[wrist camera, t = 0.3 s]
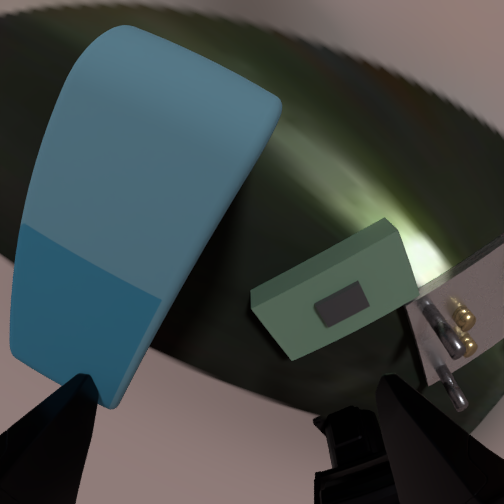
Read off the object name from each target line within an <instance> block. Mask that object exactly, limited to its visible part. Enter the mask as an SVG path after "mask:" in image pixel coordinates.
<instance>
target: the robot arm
mask: <svg viewBox="0 0 504 504" xmlns="http://www.w3.org/2000/svg"><path fill="white" fill-rule="evenodd" d="M98 399H99V393H98V389H97V387H96V385H95V383H94V381H93V379H92V377H91V376H90V375H89V374H84V373H78V374H77V375H75V376H74V377H73V378H71V379H70V380H69V381H68V382H66V383H65V384H64V385H63V386H61V387H60V388H59V389H57V390H56V391H55V392H54V393H53V394H51V395H50V396H49V397H47V398H46V399H45V400H44V401H42V402H41V403H40V404H39V405H37V406H36V407H35V408H34V409H32V410H31V411H30V412H28V413H27V414H26V415H25V416H23V417H22V418H21V419H20V420H19V421H17V422H16V423H15V424H13V425H12V426H11V427H10V428H8V430H7V431H5V432H3V433H2V434H1V435H0V504H75V503H76V498H77V494H78V489H79V485H80V481H81V477H82V472H83V469H84V465H85V460H86V457H87V453H88V449H89V446H90V442H91V438H92V433H93V427H94V421H95V416H96V409H97V404H98ZM376 403H377V408H378V414H379V419H380V425H381V430H380V427H379V424H378V421H377V418H376V415H375V413H374V412H372V411H370V410H360V409H359V408H358V407H354V406H349V407H347V408H344V409H342V410H340V411H337V412H335V413H332V414H330V415H328V419H324V418H321V417H319V416H318V417H315V418H314V419H313V424H314V425H315V426H316V427H317V428H318V429H319V430H320V431H321V432H322V433H323V434H324V435H325V436H326V438H327V443H328V447H329V453H330V458H331V464H332V469H329V470H326V471H322V472H321V471H320V472H316V473H315V480H314V504H504V459H502V458H501V457H499V456H498V455H496V454H495V453H493V452H492V451H490V450H489V449H488V448H486V447H485V446H484V445H482V444H481V443H480V442H479V441H477V440H476V439H475V438H473V437H472V436H471V435H469V433H467V432H466V431H465V430H464V429H463V428H461V427H460V426H459V425H458V424H457V423H455V422H454V421H453V420H452V419H450V418H449V417H448V416H447V415H446V414H444V413H443V412H442V411H441V410H440V409H438V408H437V407H436V406H435V405H433V404H432V403H431V402H430V401H429V400H427V399H426V398H425V397H424V396H423V395H421V394H420V393H419V392H418V391H416V390H415V389H414V388H413V387H412V386H410V385H409V384H408V383H407V382H406V381H404V380H403V379H402V378H401V377H400V376H398V375H397V374H395V373H389V374H384V375H382V377H381V379H380V382H379V384H378V387H377V390H376ZM381 432H382V433H381Z"/></svg>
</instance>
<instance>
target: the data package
mask: <svg viewBox="0 0 504 504" xmlns="http://www.w3.org/2000/svg"><path fill="white" fill-rule="evenodd" d="M281 112H282V103H281V101H280V99H279V98H278V97H276V96H275V95H273V94H271V93H270V92H268V91H266V90H265V89H263V88H261V87H259V86H258V85H256V84H254V83H252V82H251V81H249V80H247V79H245V78H243V77H242V76H240V75H238V74H236V73H234V72H232V71H230V70H228V69H227V68H225V67H223V66H221V65H219V64H217V63H215V62H213V61H211V60H209V59H207V58H205V57H203V56H201V55H199V54H196V53H194V52H192V51H190V50H188V49H186V48H184V47H181V46H179V45H177V44H175V43H172V42H170V41H168V40H165V39H163V38H161V37H158V36H156V35H154V34H151V33H149V32H146V31H144V30H141V29H138V28H136V27H133V26H128V25H123V26H118V27H115V28H112V29H110V30H108V31H107V32H105V33H103V34H102V35H101V36H99V37H98V38H97V39H96V40H94V41H93V42H92V43H91V44H90V45H89V46H88V47H87V49H86V50H85V51H84V52H83V53H82V55H81V56H80V57H79V59H78V60H77V61H76V63H75V64H74V66H73V68H72V70H71V71H70V73H69V75H68V77H67V79H66V81H65V83H64V86H63V88H62V90H61V93H60V95H59V98H58V100H57V102H56V105H55V107H54V110H53V113H52V115H51V118H50V121H49V123H48V126H47V129H46V132H45V135H44V138H43V141H42V144H41V147H40V150H39V153H38V157H37V160H36V163H35V167H34V170H33V174H32V178H31V181H30V185H29V189H28V193H27V198H26V202H25V207H24V211H23V216H22V221H21V226H20V232H19V238H18V244H17V250H16V257H15V265H14V274H13V284H12V295H11V310H10V349H11V352H12V354H13V356H14V357H15V358H16V359H18V360H20V361H21V362H23V363H24V364H26V365H27V366H29V367H31V368H32V369H34V370H36V371H37V372H39V373H41V374H42V375H44V376H46V377H48V378H49V379H51V380H53V381H55V382H56V383H58V384H60V385H62V386H63V385H64V384H65V383H66V382H68V381H69V380H70V379H71V378H73V377H74V376H75V375H77V374H78V373H84V374H89V375H90V376H91V377H92V379H93V381H94V383H95V385H96V387H97V389H98V393H99V399H98V404H99V405H101V406H103V407H106V408H108V409H115V408H116V407H117V406H118V405H119V403H120V401H121V399H122V397H123V396H124V394H125V392H126V390H127V388H128V386H129V384H130V382H131V380H132V378H133V376H134V374H135V372H136V370H137V369H138V367H139V364H140V363H141V361H142V359H143V357H144V355H145V353H146V352H147V350H148V348H149V346H150V344H151V342H152V340H153V338H154V337H155V335H156V333H157V331H158V329H159V327H160V326H161V324H162V322H163V320H164V318H165V317H166V315H167V313H168V311H169V309H170V307H171V306H172V304H173V302H174V300H175V299H176V297H177V295H178V293H179V291H180V290H181V288H182V286H183V284H184V283H185V281H186V279H187V277H188V276H189V274H190V272H191V270H192V269H193V267H194V265H195V263H196V262H197V260H198V258H199V256H200V255H201V253H202V251H203V250H204V248H205V246H206V244H207V243H208V241H209V239H210V238H211V236H212V234H213V233H214V231H215V229H216V227H217V226H218V224H219V222H220V221H221V219H222V217H223V216H224V214H225V212H226V211H227V209H228V207H229V206H230V204H231V202H232V201H233V199H234V198H235V196H236V194H237V193H238V191H239V189H240V188H241V186H242V184H243V183H244V181H245V180H246V178H247V176H248V175H249V173H250V172H251V170H252V168H253V167H254V165H255V163H256V162H257V160H258V158H259V157H260V155H261V153H262V151H263V150H264V148H265V146H266V144H267V142H268V141H269V139H270V137H271V135H272V133H273V131H274V129H275V127H276V125H277V123H278V120H279V118H280V115H281Z"/></svg>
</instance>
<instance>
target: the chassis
mask: <svg viewBox="0 0 504 504" xmlns="http://www.w3.org/2000/svg"><path fill="white" fill-rule="evenodd" d="M418 290H419V294H420V295H419V296H418V297H416V298H414V299H413V300H411V301H409V302H407V303H406V304H404V305H403V307H404V310H405V313H406V316H407V319H408V322H409V325H410V329H411V332H412V335H413V338H414V342H415V345H416V349H417V352H418V355H419V359H420V363H421V366H422V370H423V374H424V378H425V380H426V382H427V384H428V386H430V385H432V384H434V383H435V382H437V381H439V380H441V382H442V384H443V385H444V387H445V389H446V391H447V393H448V395H449V397H450V398H451V400H452V402H453V404H454V406H455V408H456V410H457V412H460V411H462V410H464V409H465V408H466V407H467V406H468V404H469V403H468V402H467V400H466V398H465V396H464V394H463V393H462V391H461V389H460V387H459V386H458V384H457V382H456V380H455V379H454V377H453V375H452V374H451V373H452V372H454V371H455V370H457V369H459V368H460V367H462V366H463V365H465V364H467V363H468V362H470V361H471V360H473V359H474V358H476V357H477V356H479V355H480V354H482V353H483V352H485V351H486V350H487V349H489V348H490V347H492V346H493V345H495V344H496V343H497V342H499V341H500V340H501V339H503V338H504V233H503V234H501V235H500V236H499V237H497V238H496V239H494V240H493V241H492V242H490V243H489V244H487V245H486V246H484V247H483V248H481V249H480V250H478V251H477V252H476V253H474V254H473V255H471V256H470V257H468V258H467V259H465V260H463V261H462V262H460V263H459V264H457V265H456V266H454V267H453V268H451V269H449V270H448V271H446V272H445V273H443V274H441V275H440V276H438V277H437V278H435V279H433V280H432V281H430V282H428V283H427V284H425V285H423V286H422V287H420V288H418Z"/></svg>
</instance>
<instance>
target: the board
mask: <svg viewBox="0 0 504 504" xmlns="http://www.w3.org/2000/svg"><path fill="white" fill-rule="evenodd" d="M419 295H420V294H419V290H418V287H417V284H416V281H415V278H414V274H413V271H412V268H411V265H410V262H409V259H408V256H407V253H406V251H405V248H404V245H403V242H402V239H401V237H400V234H399V231H398V230H397V229H396V228H395V227H394V226H393V225H392V224H391V223H390V222H389V221H388V220H387V219H386V218H385V217H384V218H383V219H381V220H379V221H377V222H376V223H374V224H372V225H370V226H368V227H367V228H365V229H363V230H361V231H359V232H358V233H356V234H354V235H352V236H351V237H349V238H347V239H345V240H343V241H341V242H340V243H338V244H336V245H334V246H332V247H331V248H329V249H327V250H325V251H323V252H321V253H320V254H318V255H316V256H314V257H312V258H310V259H309V260H307V261H305V262H303V263H301V264H299V265H297V266H295V267H294V268H292V269H290V270H288V271H286V272H284V273H282V274H280V275H279V276H277V277H275V278H273V279H271V280H269V281H267V282H265V283H263V284H262V285H260V286H258V287H256V288H254V289H252V290H251V309H252V311H253V312H254V313H255V315H256V316H257V317H258V318H259V320H260V321H261V322H262V324H263V325H264V326H265V327H266V329H267V330H268V331H269V333H270V334H271V335H272V336H273V338H274V339H275V340H276V342H277V343H278V344H279V345H280V347H281V348H282V349H283V350H284V352H285V353H286V354H287V355H288V357H289V358H290V359H291V361H293V360H295V359H298V358H300V357H302V356H304V355H307V354H309V353H311V352H313V351H315V350H317V349H319V348H322V347H324V346H326V345H328V344H330V343H332V342H334V341H336V340H338V339H340V338H342V337H344V336H346V335H348V334H350V333H352V332H354V331H356V330H358V329H360V328H362V327H364V326H366V325H368V324H369V323H371V322H373V321H375V320H377V319H379V318H381V317H382V316H384V315H386V314H388V313H390V312H392V311H393V310H395V309H397V308H399V307H400V306H402V305H404V304H406V303H407V302H409V301H411V300H413V299H414V298H416V297H418V296H419Z"/></svg>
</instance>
